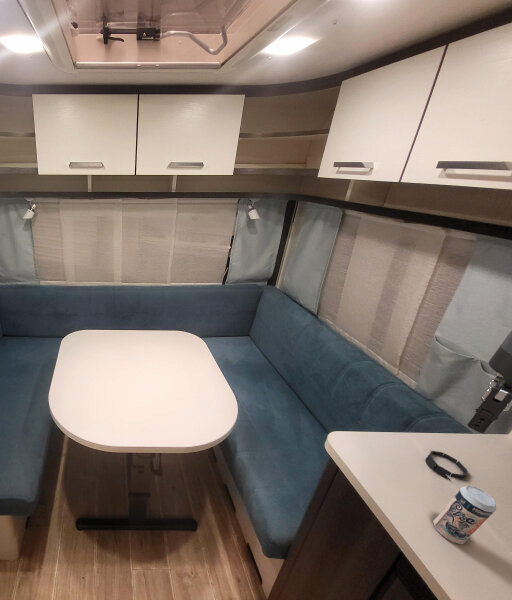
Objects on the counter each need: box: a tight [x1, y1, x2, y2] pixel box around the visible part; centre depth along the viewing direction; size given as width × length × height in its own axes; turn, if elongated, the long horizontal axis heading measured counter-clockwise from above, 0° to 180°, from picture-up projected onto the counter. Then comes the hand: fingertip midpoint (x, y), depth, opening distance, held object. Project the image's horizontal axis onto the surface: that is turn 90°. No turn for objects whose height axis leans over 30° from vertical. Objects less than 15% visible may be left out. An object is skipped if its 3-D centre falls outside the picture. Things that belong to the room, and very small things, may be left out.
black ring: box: [425, 450, 469, 481], centre depth 77 cm, size 7×7×2 cm
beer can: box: [432, 485, 497, 545], centre depth 61 cm, size 5×5×12 cm
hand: (481, 421), depth 60 cm, fingers open, 8 cm apart
